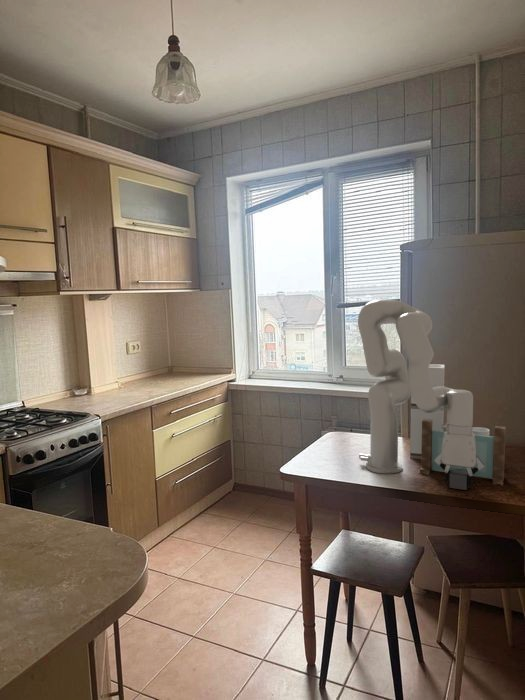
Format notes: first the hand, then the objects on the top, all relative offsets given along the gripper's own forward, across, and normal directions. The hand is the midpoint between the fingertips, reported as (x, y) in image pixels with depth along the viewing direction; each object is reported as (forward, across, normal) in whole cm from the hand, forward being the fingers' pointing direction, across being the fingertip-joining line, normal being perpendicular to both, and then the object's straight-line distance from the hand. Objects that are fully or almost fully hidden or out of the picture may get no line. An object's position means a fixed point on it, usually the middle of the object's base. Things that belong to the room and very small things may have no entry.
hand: (458, 484), depth 158 cm
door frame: (+1, -1, +13) cm, 13 cm away
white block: (+1, -15, +31) cm, 35 cm away
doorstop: (+1, 0, +5) cm, 5 cm away
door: (+1, -1, +13) cm, 13 cm away
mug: (+1, +4, +34) cm, 34 cm away
